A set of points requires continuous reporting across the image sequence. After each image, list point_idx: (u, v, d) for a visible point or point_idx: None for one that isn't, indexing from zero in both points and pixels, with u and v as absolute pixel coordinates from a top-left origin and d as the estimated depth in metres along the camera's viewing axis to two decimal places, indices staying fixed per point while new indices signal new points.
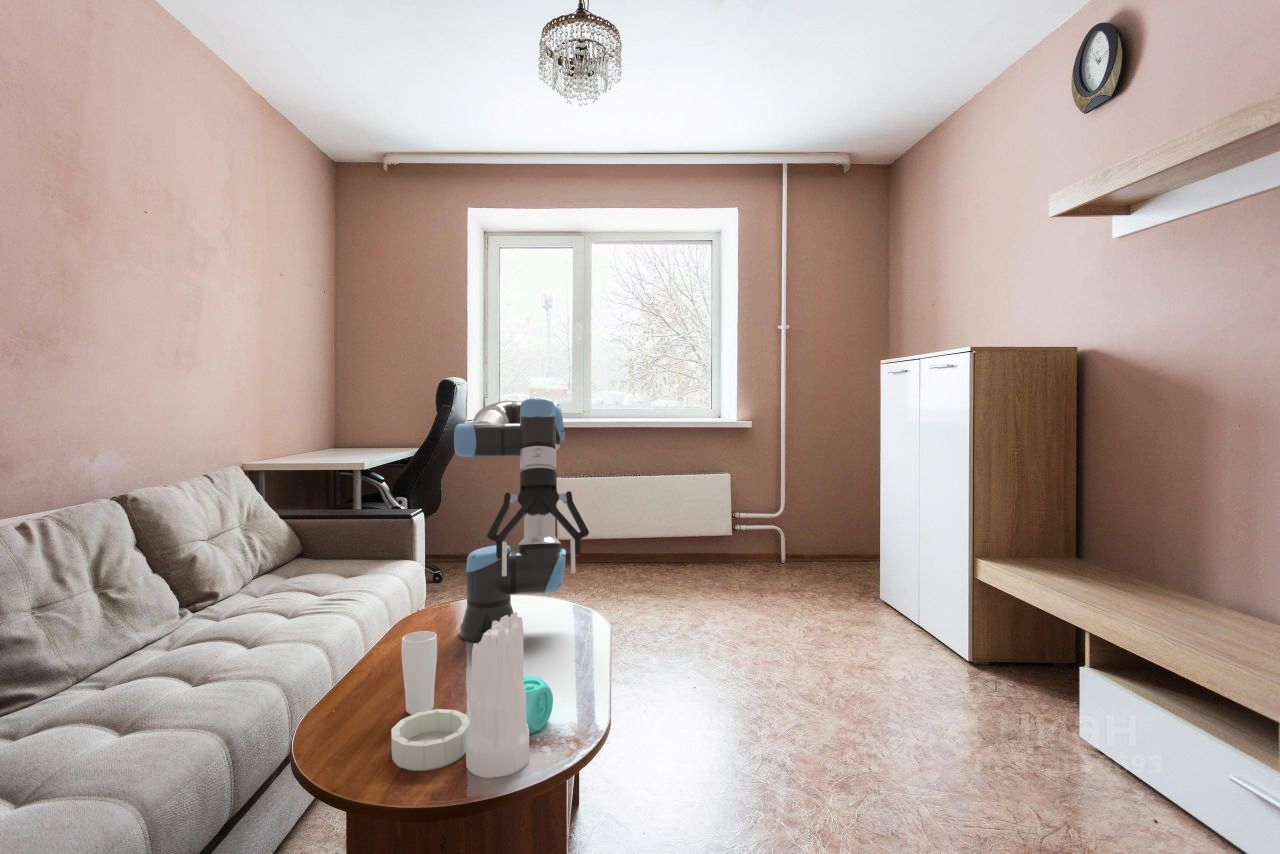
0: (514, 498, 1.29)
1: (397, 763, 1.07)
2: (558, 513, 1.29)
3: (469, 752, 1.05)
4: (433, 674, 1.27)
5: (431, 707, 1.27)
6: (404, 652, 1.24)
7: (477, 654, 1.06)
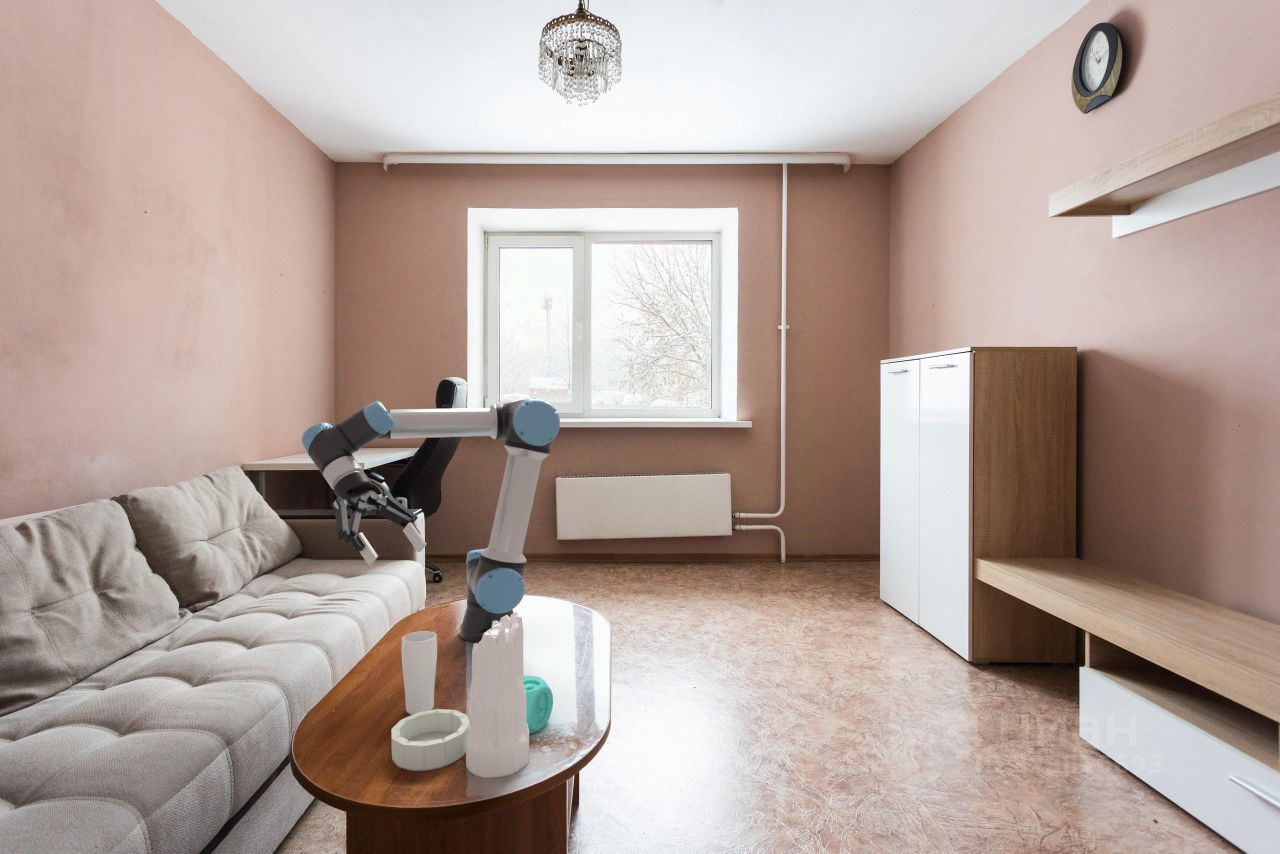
0: None
1: (397, 763, 1.07)
2: None
3: (469, 752, 1.05)
4: (433, 674, 1.27)
5: (431, 707, 1.27)
6: (404, 652, 1.24)
7: (477, 654, 1.06)
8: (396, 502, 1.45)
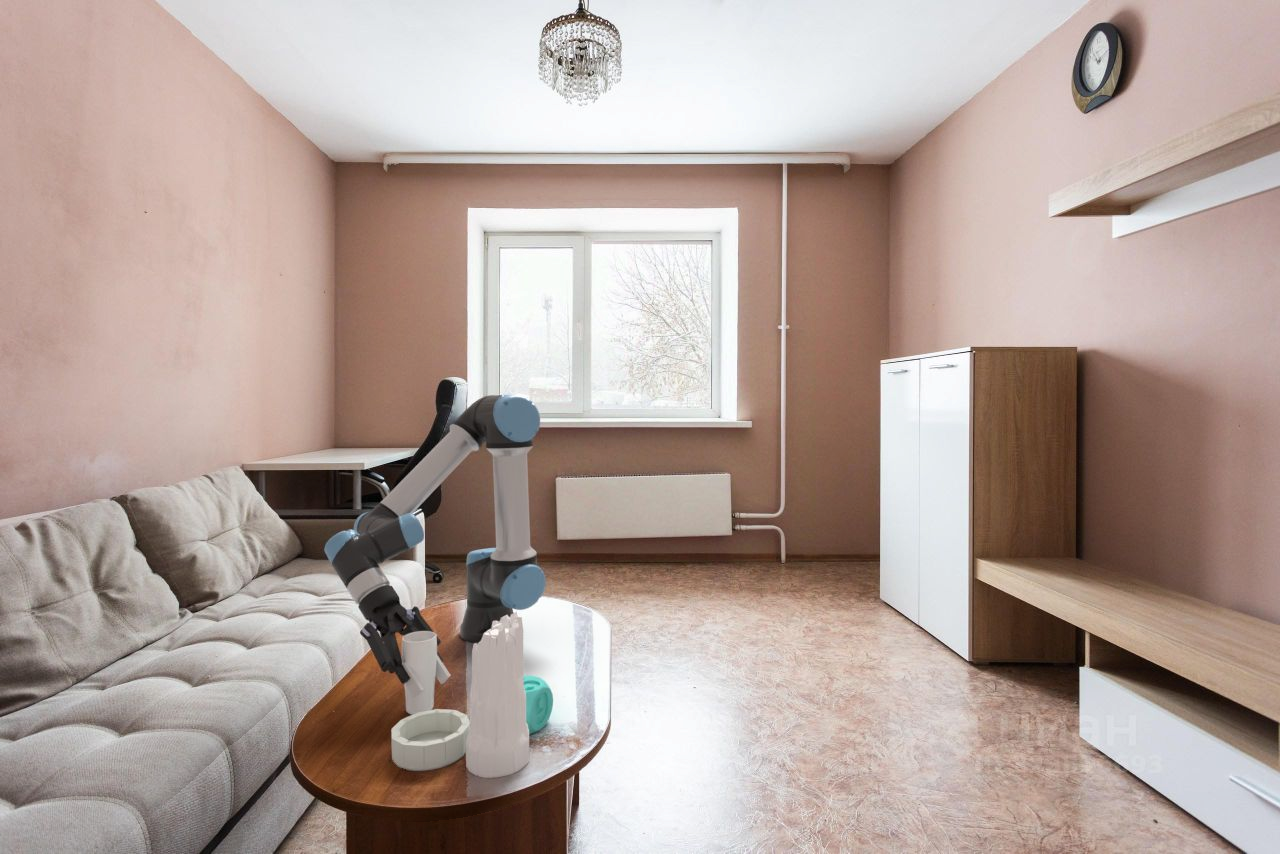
0: None
1: (397, 763, 1.07)
2: None
3: (469, 752, 1.05)
4: (433, 674, 1.27)
5: (431, 707, 1.27)
6: (404, 652, 1.24)
7: (477, 654, 1.06)
8: (423, 621, 1.35)
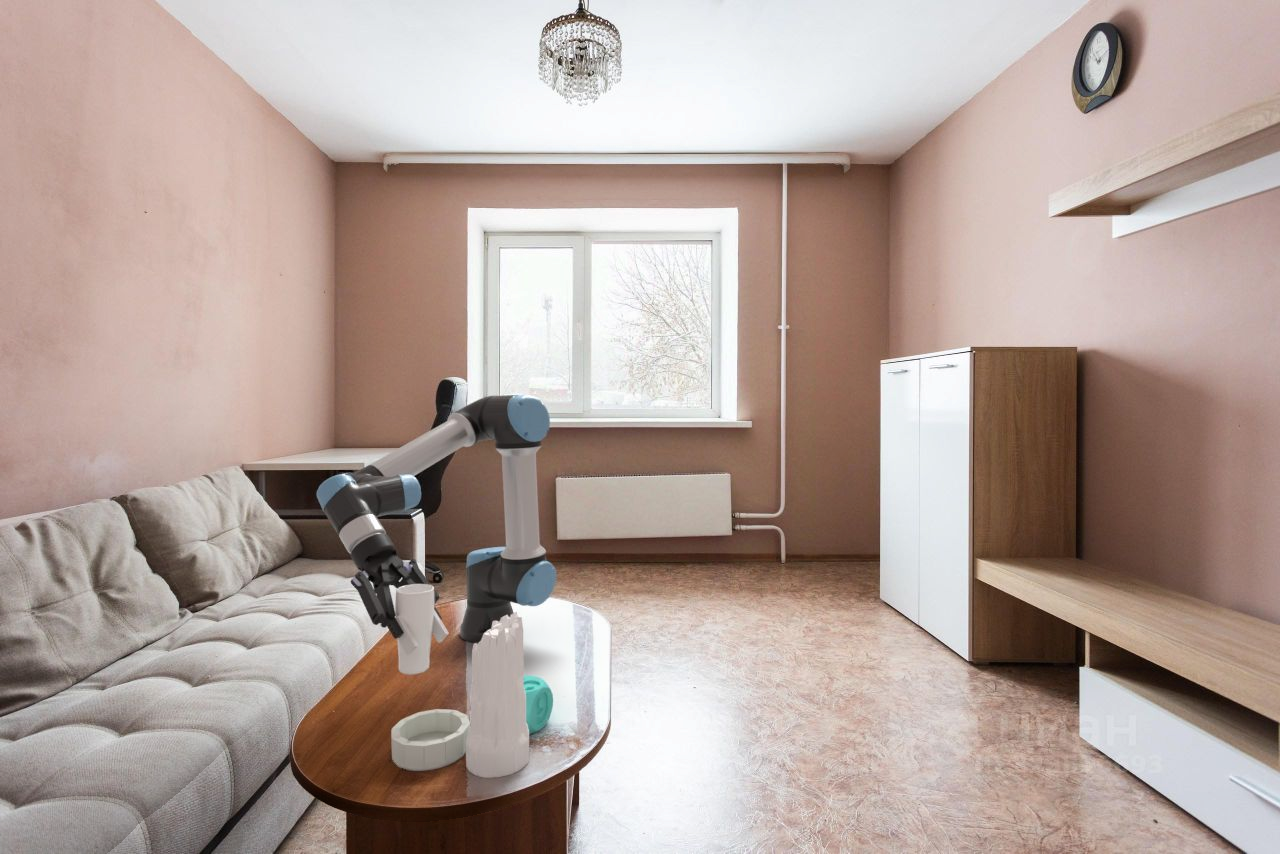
0: None
1: (397, 763, 1.07)
2: None
3: (469, 752, 1.05)
4: (429, 630, 1.15)
5: (426, 667, 1.15)
6: (398, 604, 1.13)
7: (477, 654, 1.06)
8: (421, 575, 1.23)
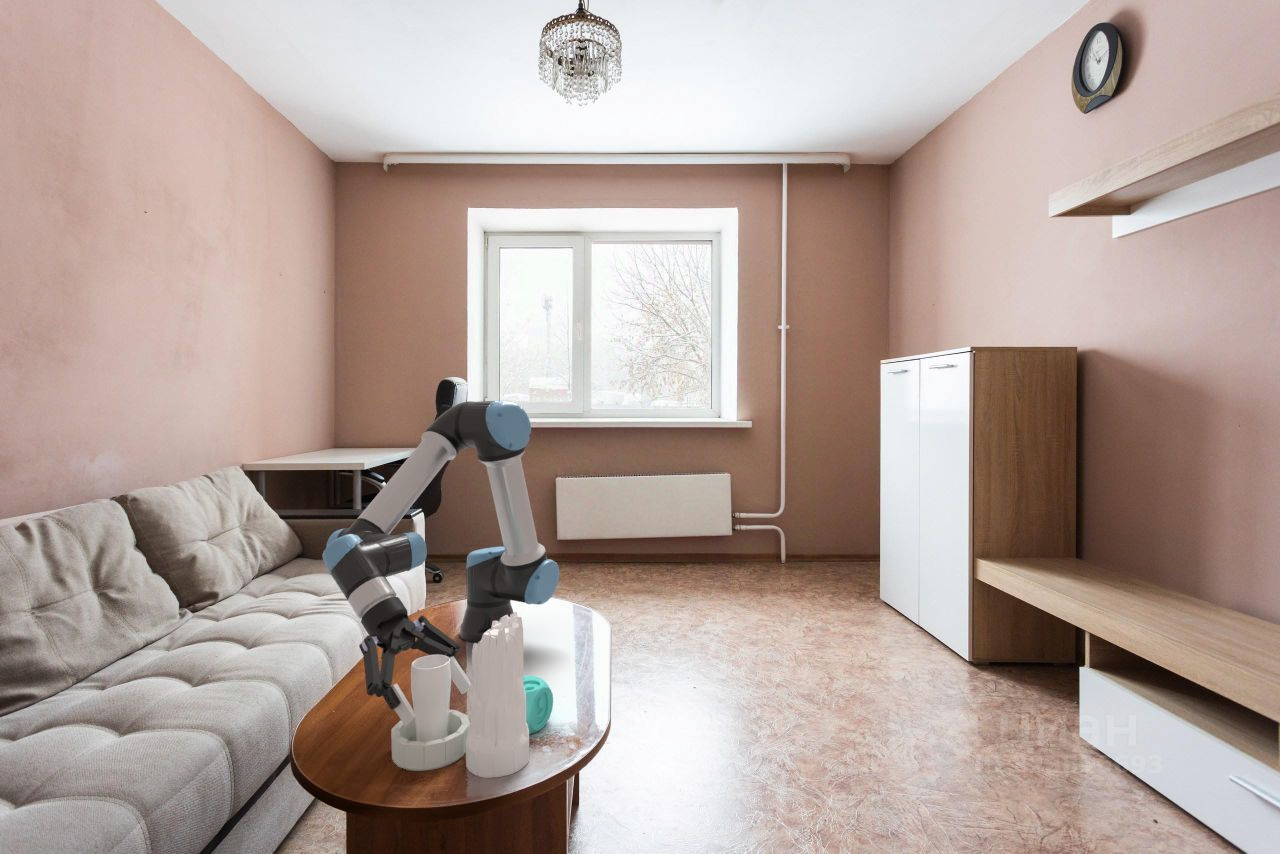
0: None
1: (397, 763, 1.07)
2: None
3: (469, 752, 1.05)
4: (447, 704, 1.11)
5: None
6: (414, 680, 1.09)
7: (477, 654, 1.06)
8: (435, 630, 1.21)
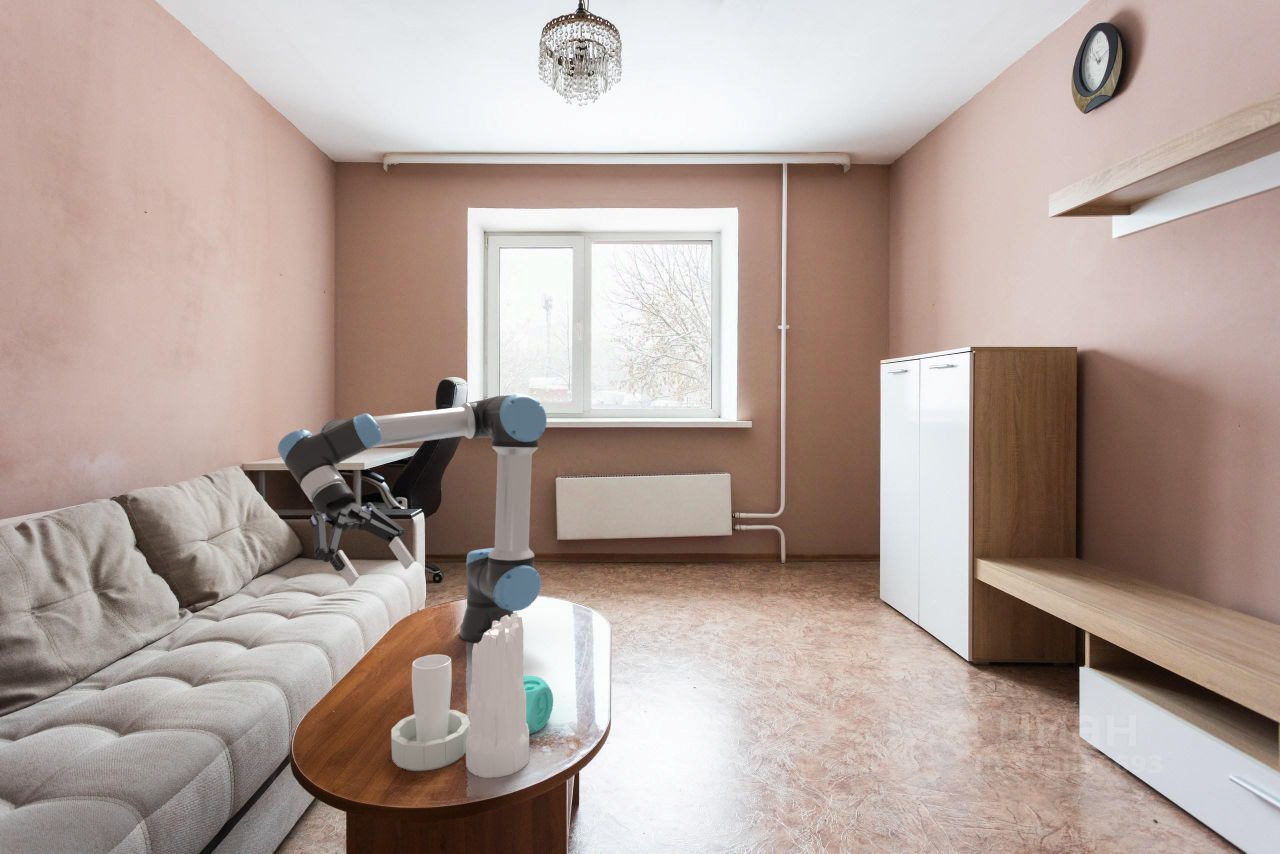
0: None
1: (397, 763, 1.07)
2: None
3: (469, 752, 1.05)
4: (447, 704, 1.12)
5: None
6: (414, 679, 1.10)
7: (477, 654, 1.06)
8: (382, 515, 1.34)
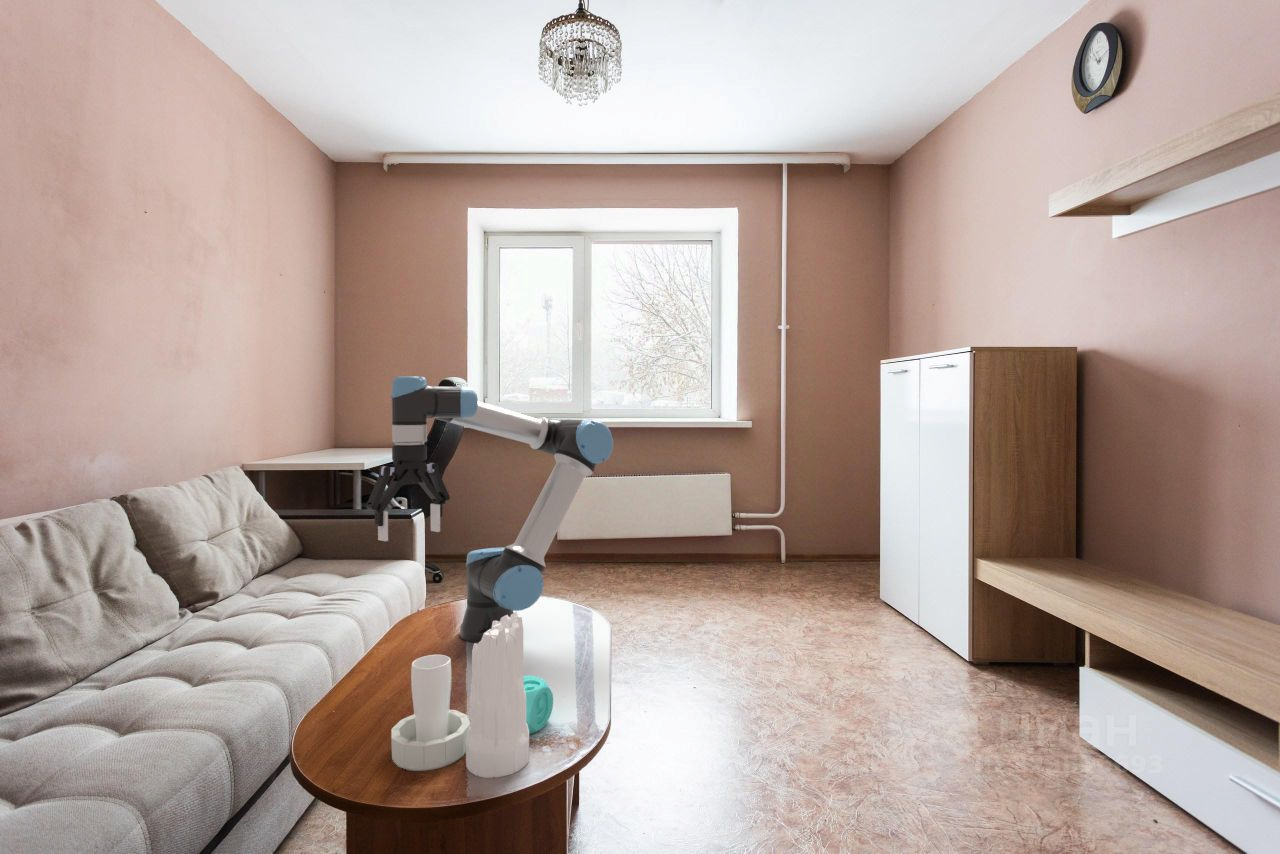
0: None
1: (397, 763, 1.07)
2: None
3: (469, 752, 1.05)
4: (447, 704, 1.12)
5: None
6: (414, 680, 1.10)
7: (477, 654, 1.06)
8: (439, 478, 1.50)
